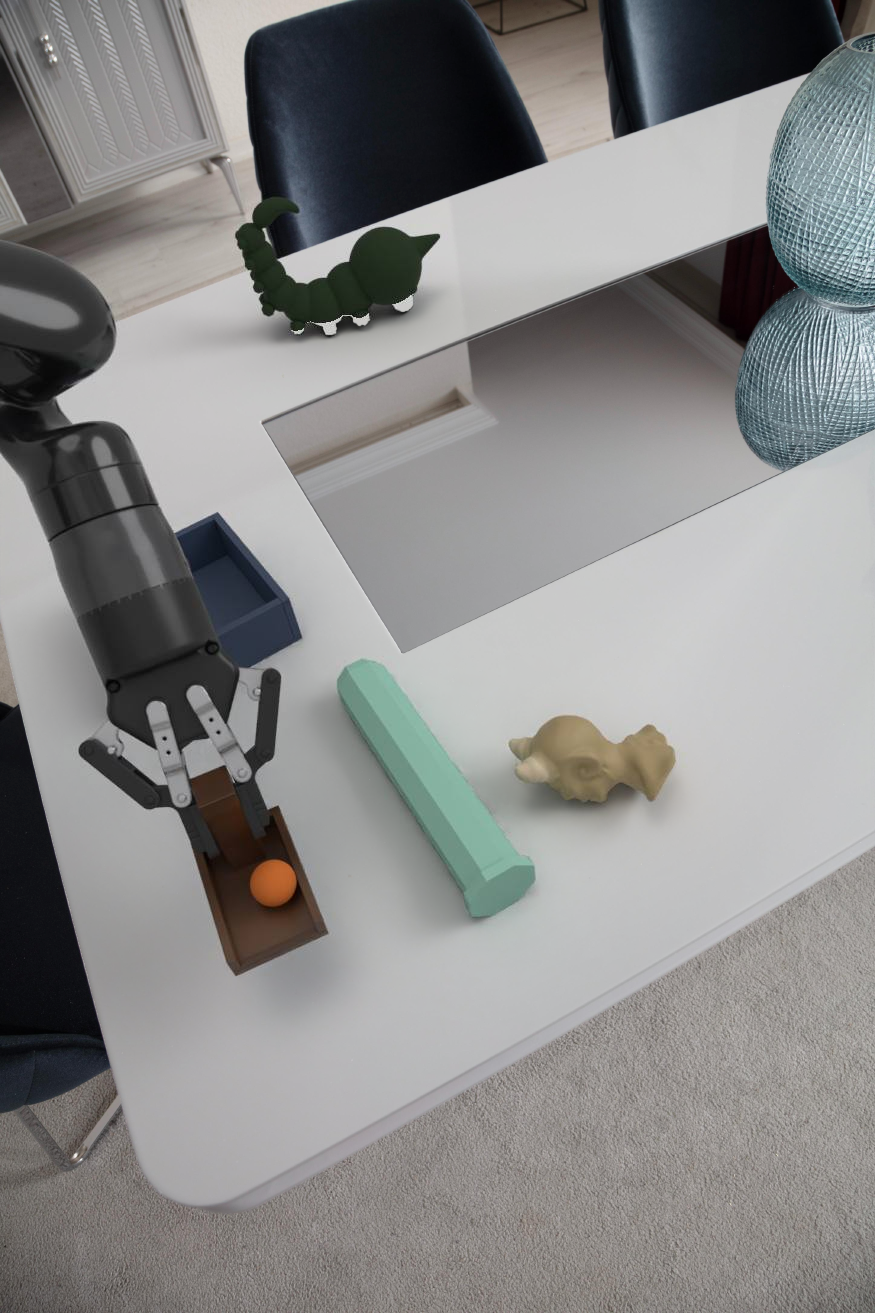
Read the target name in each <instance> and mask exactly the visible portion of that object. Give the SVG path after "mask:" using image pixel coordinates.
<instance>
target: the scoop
mask: <svg viewBox="0 0 875 1313" xmlns="http://www.w3.org/2000/svg"><path fill="white" fill-rule="evenodd" d="M189 782H190V785H191V788H192V791H193V794H194V797H195V800H196V804H197V807H198V809H199V811H200V813H201V814H202V816H203V818H204V820H205V821H206V823H207V824H208V826H209V828H210V830H211V831H212V833H213V835H214V837H215V838H216V840H217V842H218V844H219V845H220V848H221V855H220V856H218V857H215V858H213V859H211V860H210V858H209V857H208V854H207V852H204V853H201V854H198V853H197V852H196V851H195V850H194V849H193V847H192V844H191V843H190V846H191V850H192V853H193V856H194V860H195V863H196V866H197V869H198V870H197V871H198V873H199V876H200V879H201V883H202V886H203V890H204V892H205V893H204V894H205V896H206V899H207V903H208V906H209V909H210V912H211V915H212V920H213V922H214V926H215V930H216V932H217V936H218V939H219V943H220V946H221V949H222V952H223V953H222V954H223V955H224V959H225V963H226V964H227V966H228V967H229V969H230V970H231V972H232V974H233V975H234V976H235V977H237V976H240V975H243V974H244V973H247V972H248V971H249V972H250V971H251V970H253V969H255V968H258V967H260V966H262V965H264V964H266V963H268V962H271V961H273V960H275V959H277V958H280V957H282V956H284V955H285V954H288V953H290V952H292V951H294V950H297V949H299V948H301V947H303V946H305V945H307V944H310V943H312V942H314V941H316V940H318V939H321V938H323V937H325V936H326V935H329V933H330V932H329V930H328V927H327V925H326V922H325V918H324V917H323V914H322V911H321V909H320V907H319V903H318V901H317V898H316V896H315V893H314V891H313V888H312V886H311V882H310V880H309V878H308V876H307V874H306V870H305V868H304V865H303V862H302V861H301V857H300V855H299V852H298V849H297V847H296V844H295V842H294V840H293V837H292V834H291V832H290V830H289V827H288V824H287V822H286V820H285V817H284V815H283V812H282V810H281V808H280V805H275V806H272V807H270V808H267V809H268V811H269V815H270V824H269V825H267V826H264V830H265V834H266V836H264V837H262V838H259V839H257V840H255V838H254V836H253V833H252V831H251V829H250V826H249V824H248V821H247V819H246V817H245V814H244V812H243V809H242V805H241V803H240V801H239V798H238V796H237V793H236V791H235V788H234V783H235V782H234V779H233V777H232V775H231V773H230V771H229V769H228V767H227V765H226V764H223V765H221V766H218V767H216V768H213V769H211V770H207V771H206V772H204V773H201V774H198V775H196V776H194V777H192V778H191V777H190V779H189ZM268 860H281V861H283V862H285V863H287V864H288V865H289V866H290V867H291V868H292V869H293V871H294V873H295V875H296V880H297V884H296V889H295V892H294V894H293V896H292V897H291V898H290V899H289V900H288V901H287V902H286V903H284V904H282V905H280V906H275V907H270V906H265V905H263V904H261V903H259V902H258V901H257V900H256V899H255V898H254V896H253V894H252V892H251V888H250V880H251V876H252V874H253V872H254V870H255V869H256V868H257V867H258V866H259V865H260V864H261V863H263V862H265V861H268Z"/></svg>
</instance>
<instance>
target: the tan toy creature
mask: <svg viewBox="0 0 875 1313" xmlns="http://www.w3.org/2000/svg"><path fill="white" fill-rule="evenodd" d="M508 747H509V750H510V751H511V753H512V754H513V755H514V757H515V758H516V759H517V760H519V761H521V763H519V764H516V765H515V766H514V770H513V771H514V774H515V776H516V777H517V778H518V779H519V780H521V781H522V782H523V783H526V784H540V783H546V785H547V786H548V787H549V788H551V789H554V790H556V791H557V793H559V795H560V796H561V797H562V798H563V800H564V801H566V802H569V801H570V800H573V799H577V800H579V801H580V802H581V803H587V801H590V802H595V803H603V802H605V801H607V798H608V793H609V792H610V790H611V789H612V788H613V787H615V786H616V785H618V784H621V783H622V784H624V785H626V786H629V787H631V788H632V789H634V790H635V791H636V792H640V793H641V794H643V795H644V796H645V797H646V799H647V801H649V803H654V801H655V800H656V799H657V796H658V795H659V794H660V791H661V790H662V788H663V786H664V784H665V782H666V781H667V779H668V778H669V775H670V774H671V772H672V770H673V768H674V766H675V765H676V762H677V760H676V752H675V748H674V747H673V746H671V745H670V744H668V741H667V738H666V736H665V734H664V733H662V732H661V731H658V729H657V727H655V725H653V724H651V723H649V724H646V725H644V726H643V727H642V728H641V729H640V730H639V731H637V732H636V733H633V734H629V735H627V736H626V737H625V738H624V739H623V740H622V741H621V742H619V743H613V742H611V741H610V740H608V739H607V738H606V737H605V736H604V735H603V734H602V732H601V731H600V730H599V729H598V727H597V726H596V725H595V724H594V723H593V722H592V721H590V719H587V718H585V717H582V716H578V715H571V714H566V715H564V714H563V715H558V716H555V717H553V718H550V719H549V720H548V721H546V722H545V723H544V724H542V725H541V726H540V727H539V729H538V730H537V731H536V734H534V736H532V737H529V736H525V737H522V738H510V739H509V740H508Z"/></svg>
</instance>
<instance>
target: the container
mask: <svg viewBox="0 0 875 1313" xmlns="http://www.w3.org/2000/svg"><path fill="white" fill-rule="evenodd" d="M336 689H337V690H336V691H337V693H338V695H339V699H340V702H341V704H342V705H343V707H344V708H345V710H346V712H347V713H348V715H349V716H350V719H352V721H353V722H354V724H355V726H356V728H357V729H358V730H359V733H360V734H361V735H362V737H363V738H364V740H365V741H366V743H367V744H368V746H369V747H370V749H371V751H372V752H373V754H374V756H375V757H376V758H377V760H378V761H379V763H380V765H381V766H382V767H383V770H384V771H385V773H386V774H387V776H389V778H390V780H391V782H392V783H393V785H394V787H395V788H396V790H397V791H398V793H399V794H400V796H401V798H402V799H403V800H404V802H405V803H406V805H407V806H408V808H409V810H410V811H411V813H412V815H413V816H414V817H415V819H416V821H417V823H418V824H419V825H420V827H421V829H422V830H423V832H424V833H425V835H426V836H427V838H428V839H429V841H430V842H431V844H432V845H433V847H434V849H435V850H436V852H437V853H438V855H439V856H440V858H441V859H442V861H443V862H444V865H445V866H446V867H447V869H448V870H449V872H450V874H451V876H453V878H454V880H455V882H456V883H457V884H458V886H459V888H460V889H461V891H462V893H463V899H464V903H465V907H466V910H467V912H468V914H469V915H470V916H471V917H472V918H480V917H492V916H495V915H496V914H498V913H500V912H501V911H503V910H504V909H506V908H509V907H510V906H511V905H513V904H515V903H516V902H519V900H520V899H521V898H522V897H523V896H524V895H525V893H527V891H528V890H529V888H530V887H531V886H532V885H533V884H534V883H535V882H536V868H535V867H536V866H535V864H534V862H533V861H532V860H531V858H530V857H529V856H528V855H527V856H525V855H523V856H521V855H520V854H519V853H518V851H517V849H516V848H515V846H514V845H513V844H512V842H511V840H509V838H508V837H507V835H506V834H505V832H504V831H503V830H502V828H501V827H500V826H499V824H498V822H496V820H495V818H494V817H493V816H492V814H491V813H490V812H489V811H488V809H487V807H486V806H485V805H484V803H483V802H482V800H481V799H480V798H479V796H478V795H477V793H476V792H475V791H474V789H473V787H472V786H471V785H470V784H469V782H468V781H467V779H466V778H465V777H464V775H463V774H462V772H461V771H460V769H459V768H458V766H457V765H456V764H455V763H454V761H453V759H452V758H451V757H450V756H449V754H448V753H447V750H445V748H444V747H443V746H442V744H441V743H440V741H439V740H438V739H437V737H436V735H434V733H433V732H432V730H431V729H430V728H429V726H428V724H427V723H426V722H425V720H424V719H423V717H422V716H421V715H420V713H419V711H417V708H416V707H414V705H413V703H412V702H411V701H410V698H408V696H407V695H406V694H405V692H404V691H403V690H402V688H401V687H400V685H399V684H398V683H397V681H396V680H395V678H394V677H393V676H392V674H391V673H390V671H389V670H388V669H387V667H386V666H385V664H382V663H380V662H378V661H375V660H371V659H366V658H359V659H357V660H356V661H353V662H351V663H349V664H348V665H346V666H344V667H343V669H342V671H341V672H340V674H339V676H338V677H337V679H336Z"/></svg>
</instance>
